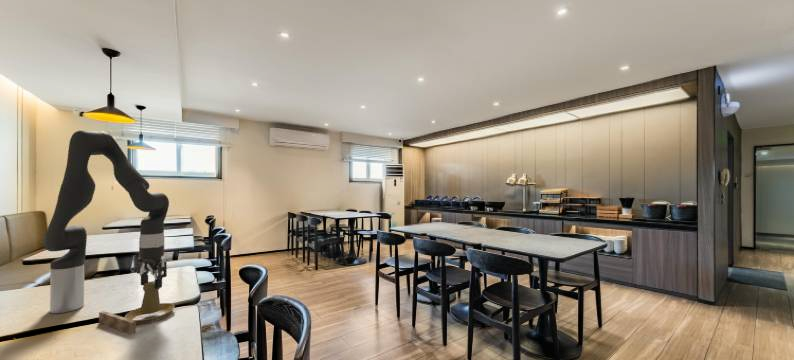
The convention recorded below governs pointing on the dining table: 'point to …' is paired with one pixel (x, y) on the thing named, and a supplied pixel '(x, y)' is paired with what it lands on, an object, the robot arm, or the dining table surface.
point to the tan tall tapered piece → (150, 299)
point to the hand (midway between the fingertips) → (151, 286)
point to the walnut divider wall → (117, 322)
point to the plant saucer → (163, 308)
